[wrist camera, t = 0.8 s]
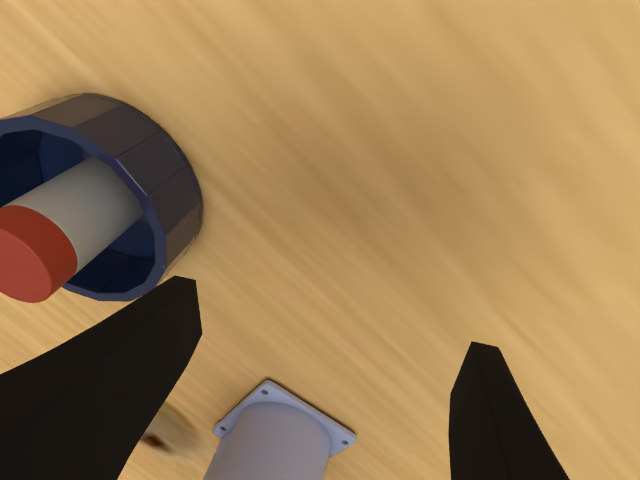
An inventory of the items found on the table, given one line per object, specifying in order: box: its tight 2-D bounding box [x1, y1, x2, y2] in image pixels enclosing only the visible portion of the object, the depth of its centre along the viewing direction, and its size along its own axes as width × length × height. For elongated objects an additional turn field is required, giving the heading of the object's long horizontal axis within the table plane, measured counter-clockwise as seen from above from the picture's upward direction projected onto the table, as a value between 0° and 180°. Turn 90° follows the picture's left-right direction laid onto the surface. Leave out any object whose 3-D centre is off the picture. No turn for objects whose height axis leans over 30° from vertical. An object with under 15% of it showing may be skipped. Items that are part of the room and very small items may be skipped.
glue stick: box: [0, 156, 144, 303], centre depth 20 cm, size 4×4×7 cm
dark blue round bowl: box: [0, 94, 203, 301], centre depth 22 cm, size 10×10×4 cm
